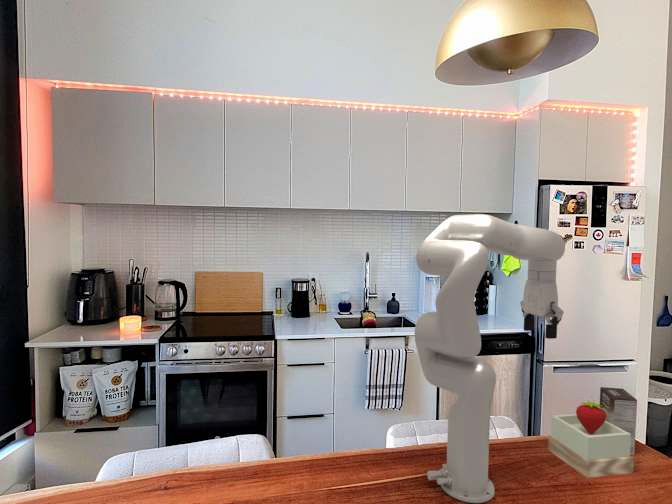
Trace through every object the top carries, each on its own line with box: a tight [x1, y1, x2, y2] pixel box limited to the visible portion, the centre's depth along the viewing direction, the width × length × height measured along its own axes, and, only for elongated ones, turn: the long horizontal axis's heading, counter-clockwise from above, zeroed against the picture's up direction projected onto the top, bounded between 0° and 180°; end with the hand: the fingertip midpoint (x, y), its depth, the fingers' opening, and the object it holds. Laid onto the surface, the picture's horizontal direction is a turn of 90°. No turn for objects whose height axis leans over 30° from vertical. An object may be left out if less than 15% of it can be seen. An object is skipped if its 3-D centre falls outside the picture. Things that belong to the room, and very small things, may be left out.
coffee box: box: [599, 386, 638, 456], centre depth 119 cm, size 9×6×16 cm
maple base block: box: [547, 435, 635, 479], centre depth 111 cm, size 14×14×4 cm
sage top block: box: [550, 413, 631, 461], centre depth 111 cm, size 13×13×6 cm
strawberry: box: [575, 397, 606, 434], centre depth 111 cm, size 6×8×10 cm
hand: (539, 334), depth 121 cm, fingers open, 9 cm apart
